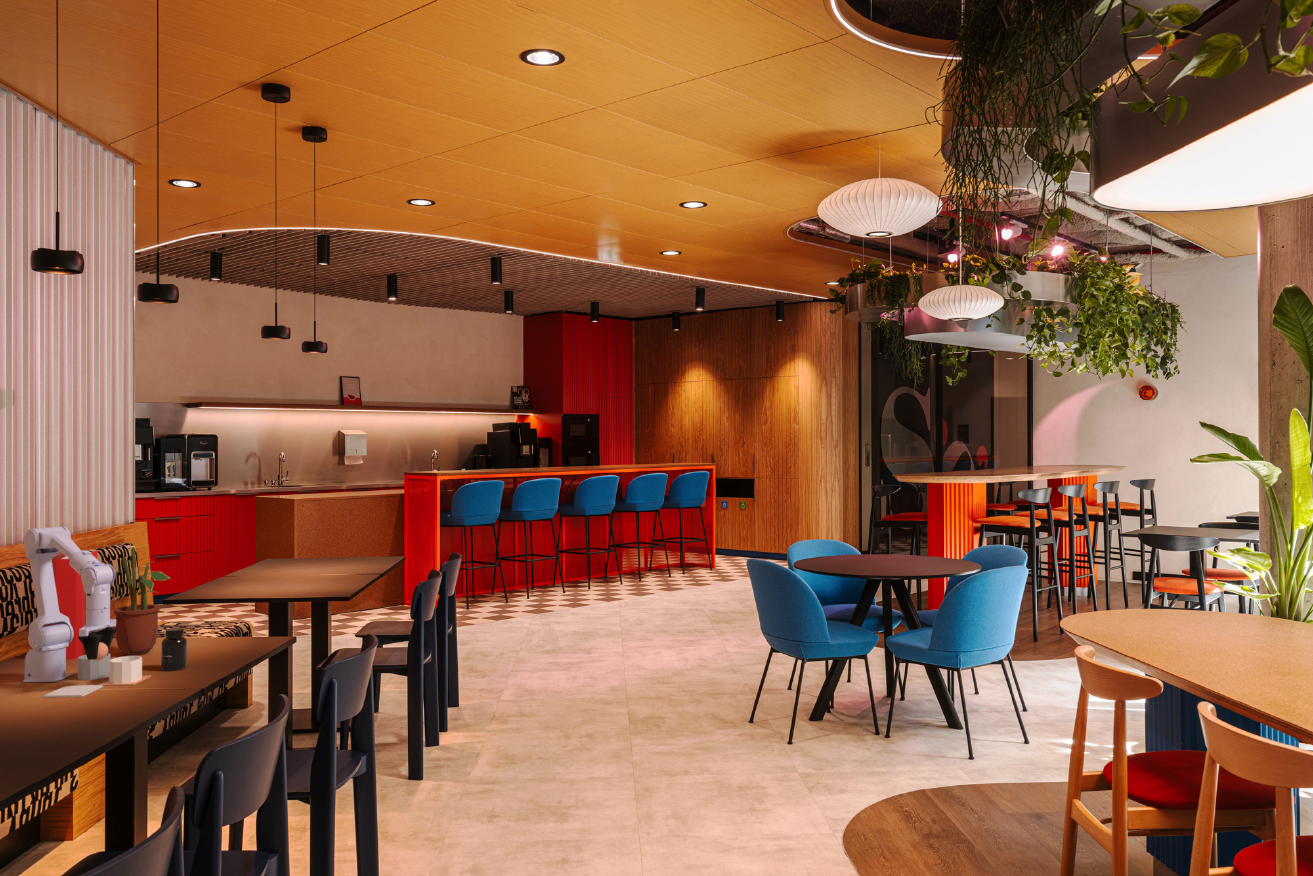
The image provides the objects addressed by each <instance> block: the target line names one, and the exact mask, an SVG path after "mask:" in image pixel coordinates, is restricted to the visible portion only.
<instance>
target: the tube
mask: <svg viewBox="0 0 1313 876" xmlns="http://www.w3.org/2000/svg"><path fill="white" fill-rule="evenodd" d="M151 677H152V675H143V657H142V656H141V655H132V656H131V655H125V656H119V657H113V658H110V660H109V676H108V680H106V681H103V682H102V683H99V685H103V687H106V686H107V687H108V686H109V687H110V686H111V687H112V686H134V685H137V684H139V683H141V682H143V681H144V680H147V679H149V678H151Z"/></svg>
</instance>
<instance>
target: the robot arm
mask: <svg viewBox="0 0 1313 876" xmlns="http://www.w3.org/2000/svg"><path fill="white" fill-rule="evenodd" d="M22 540H23V541H22V542H23V546H24V553H25V558H26V559H29V564H30V572H31V578H32V585H33V590H34V591H33V592H34V597H35V604H36V605H35V606H36V610H37V611H36V612H37V617H36V618H35V619H34V620H33V621H31V622H30V624H29V625H28V636H27V640H28V644H29V646H30V647H31V649H29V650H28V651H27V653H26V655H25V658H24V680H22V682H23V683H52V682H53V683H57V682H59V681H61V680H63V679H66V678H69V677H70V676H73V672H72V673H67V659H66V647H67V646H69V643H70V642H71V641H72V639H73V636H74V631H73V628H72V626H71V624H70V621H69V618H68V617H67V616H65V615H63V614H61V613H60V612H59V606H58V600H57V593H56V587H55V580H54V574H53V559H54V558H55V557H57V556H59V554H61V555H62V554H63V555H65V556H66V557H67V558H69V559H70V562H69V563H70V566H71V567H72V568H73V569H74V570H75V571H77V572H78V573H79V574H80V575H81V580H82V583H83V586H84V591H85V593H86V625H85V626H84V627H83V628H81V629H79V635H78V639H79V640H80V641H81V643H82V644H83V646H84V649H85V652H86V653H85V655H87V659H88V660H95V659H97V655H98V647H99V643H100V642H101V643H104V644H106V645H107V647H108V653H109V652H110V648H111V644H112V641H113V639H114V637H115V636H116V632H117V628H116V618H111V585H113V583H114V582H115V579H116V571H115V568H114V566H113V565H112V564H110V563H102V562H101V561H100V560H98V558H97V559H96V558H95V557H94V556H93V555H92V554H91V553H90V552H91V551H90V550H81V549H80V547H79V546H78V545H77V544H76V543H75V542H74V540H72V535H71V531H70V530H69V529H68V527H66V526H64V525H59V526H51V527H49V526H48V527H39V528H34V527H32V528H31V527H30V528H29V529H27V531H26V532H25V533H24V537H23V539H22ZM52 624H56V625H52Z"/></svg>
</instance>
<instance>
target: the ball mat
mask: <svg viewBox="0 0 1313 876" xmlns="http://www.w3.org/2000/svg"><path fill="white" fill-rule="evenodd" d="M103 687H104V686H103V685H100V684H91V685H89V684H88V685H64V686H62V687H60V688H58V689H56V690H53V691H51V692H49V693H47V694H44V695H43V698H49V699H50V698H83V697H85V696H86V695H88V694H91V693H93V692H95V691H97V690H99V689H101V688H103Z"/></svg>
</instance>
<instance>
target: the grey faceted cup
mask: <svg viewBox="0 0 1313 876" xmlns="http://www.w3.org/2000/svg"><path fill="white" fill-rule="evenodd" d="M109 660H111V653H109V652H108V654H107V655H106V657H105V658H103V659H101V660H97V661H95V660H88V659H87V655H86V654H84V655H82V656H80V657H78V658H77V680H79V681H92V680H93V681H94V680H100V679H104V678H109Z"/></svg>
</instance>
